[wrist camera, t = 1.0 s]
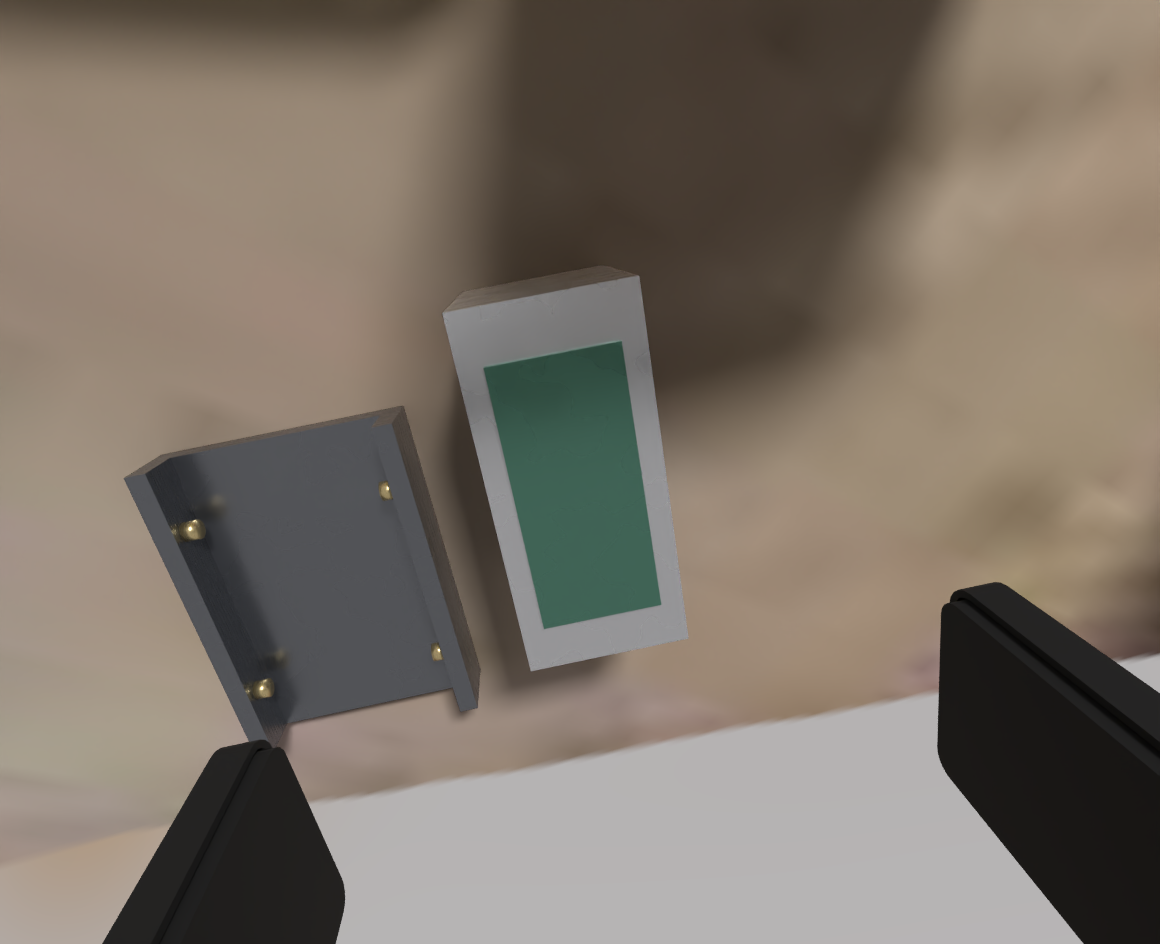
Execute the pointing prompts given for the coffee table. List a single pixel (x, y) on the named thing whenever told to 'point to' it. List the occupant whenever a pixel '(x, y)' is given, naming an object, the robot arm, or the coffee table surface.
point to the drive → (572, 460)
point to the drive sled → (312, 569)
